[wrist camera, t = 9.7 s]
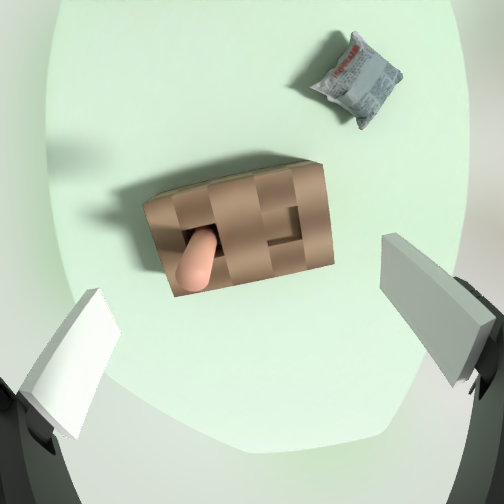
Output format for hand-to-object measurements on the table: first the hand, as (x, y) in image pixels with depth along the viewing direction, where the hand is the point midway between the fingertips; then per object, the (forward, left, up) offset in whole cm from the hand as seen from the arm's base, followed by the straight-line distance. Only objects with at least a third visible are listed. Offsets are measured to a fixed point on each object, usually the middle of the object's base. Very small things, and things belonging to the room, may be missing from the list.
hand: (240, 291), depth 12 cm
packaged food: (-12, +18, -25) cm, 33 cm away
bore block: (+4, 0, -25) cm, 25 cm away
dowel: (+4, -5, -23) cm, 24 cm away
